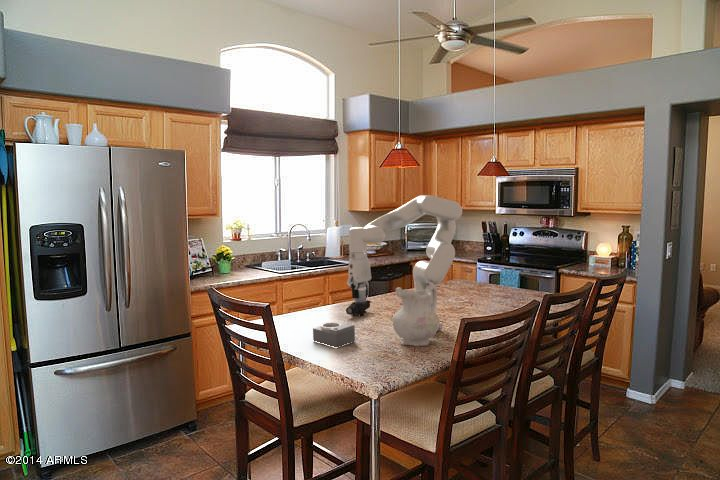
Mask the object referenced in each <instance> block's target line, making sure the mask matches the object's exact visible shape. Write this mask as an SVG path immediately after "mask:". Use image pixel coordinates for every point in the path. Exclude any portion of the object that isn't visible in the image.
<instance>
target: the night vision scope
mask: <svg viewBox="0 0 720 480" xmlns="http://www.w3.org/2000/svg"><path fill="white" fill-rule="evenodd" d="M370 307H371V301H370V300H369V299H366V301H365V302H355V301H353V302H352V303H350V305H349V306H348V307H347V308H346V310H345V311H346V312H345V313H346V314H347V315H349V316H350V315H351V316H352V315H353V316H354V315H358V316H359V317H362V315H363V316H365V314H366V313H367V311H366V310H369V308H370Z"/></svg>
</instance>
